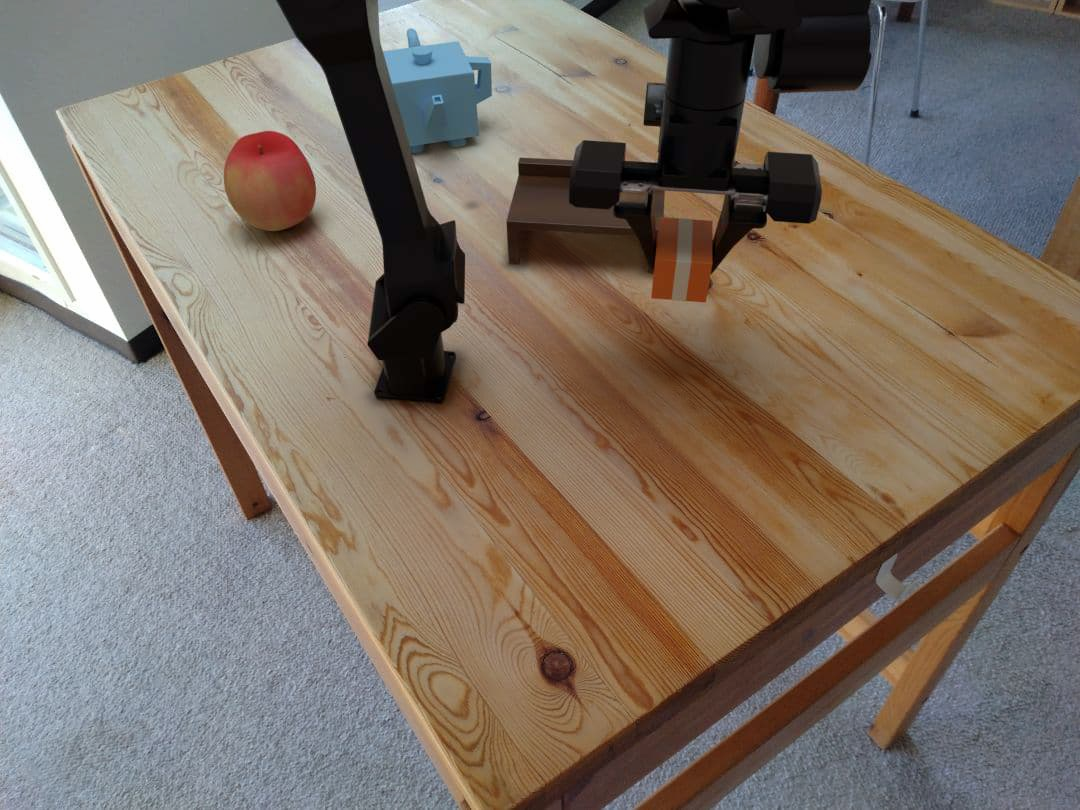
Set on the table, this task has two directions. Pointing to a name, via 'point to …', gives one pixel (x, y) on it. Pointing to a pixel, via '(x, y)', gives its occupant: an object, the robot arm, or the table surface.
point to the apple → (269, 181)
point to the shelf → (557, 207)
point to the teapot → (438, 91)
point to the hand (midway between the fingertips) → (681, 268)
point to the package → (683, 259)
